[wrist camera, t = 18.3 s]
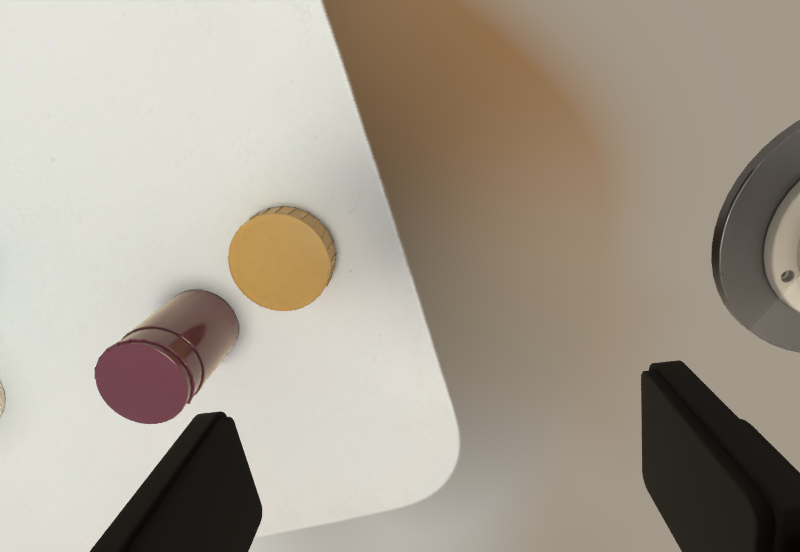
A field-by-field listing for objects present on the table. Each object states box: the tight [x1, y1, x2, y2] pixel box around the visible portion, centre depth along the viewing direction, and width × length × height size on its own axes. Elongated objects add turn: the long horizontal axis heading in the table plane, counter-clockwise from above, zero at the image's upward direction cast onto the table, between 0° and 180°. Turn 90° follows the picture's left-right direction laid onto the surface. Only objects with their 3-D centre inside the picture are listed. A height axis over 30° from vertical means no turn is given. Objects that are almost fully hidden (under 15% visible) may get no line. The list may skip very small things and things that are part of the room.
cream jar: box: [95, 290, 239, 424], centre depth 31 cm, size 5×5×8 cm
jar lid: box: [228, 206, 336, 311], centre depth 31 cm, size 7×7×2 cm
